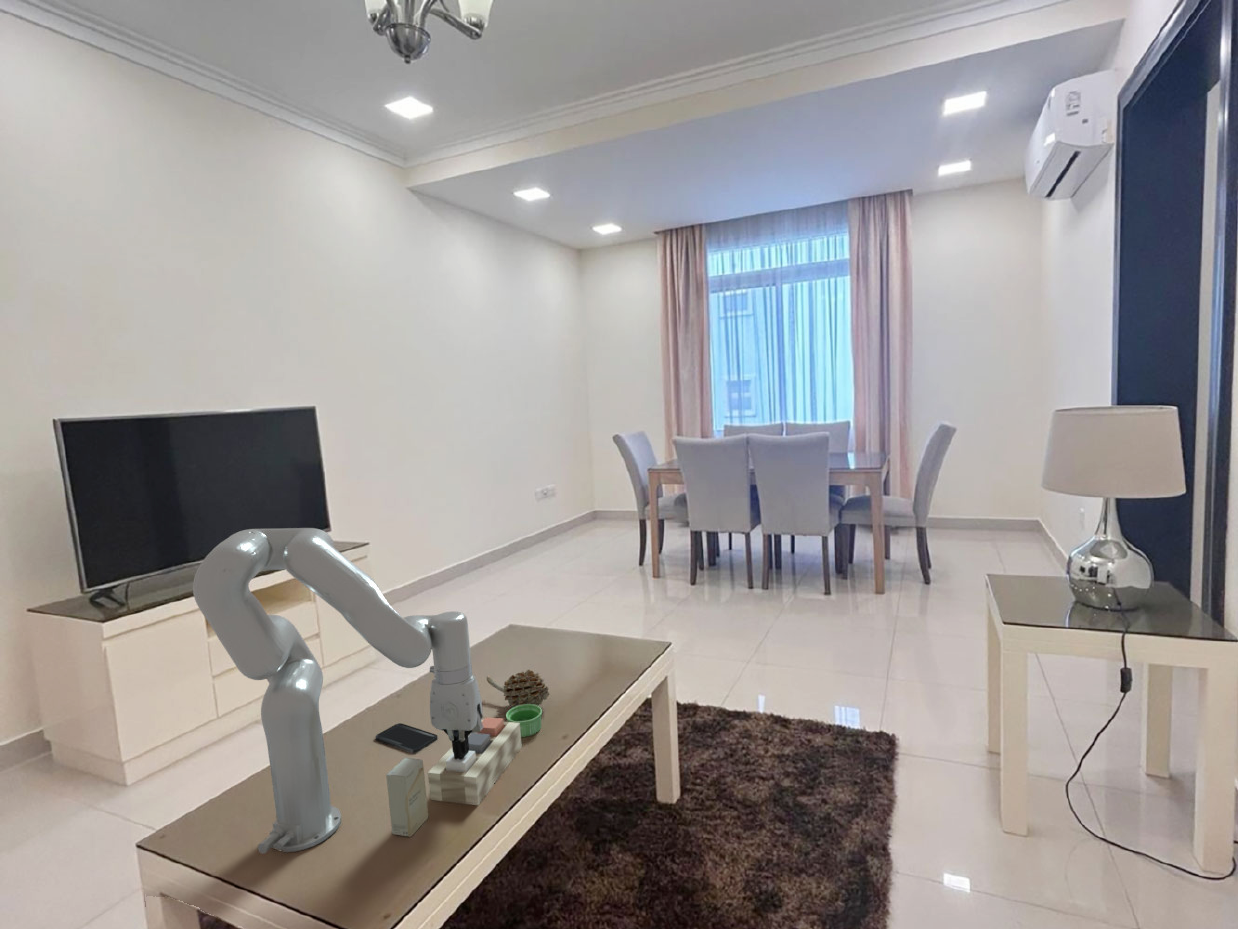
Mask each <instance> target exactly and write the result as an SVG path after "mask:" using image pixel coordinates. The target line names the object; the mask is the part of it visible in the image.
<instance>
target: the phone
mask: <svg viewBox="0 0 1238 929" xmlns="http://www.w3.org/2000/svg"><path fill="white" fill-rule="evenodd" d="M438 740H439V739H438V734H435V733H432V732H429V731H427V730H422V729H420V728H417V727H414V726H411V725H408V724H405V723H400V722H399V723H396V724H394V725H392V726H389V727H388V728H386V729H385V730H382V732H380V733H377V734H376V735H375V741H376V742H378V743H382V744H385V745H388V746H390V747H393V748H396V749H399V750H401V751H404V752H408V753H410V754H417V753H419V752H420V751H422V750H424V749H426V748H427V747H429V746H430V745H432V744H433V743H435V742H436V741H438Z"/></svg>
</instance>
